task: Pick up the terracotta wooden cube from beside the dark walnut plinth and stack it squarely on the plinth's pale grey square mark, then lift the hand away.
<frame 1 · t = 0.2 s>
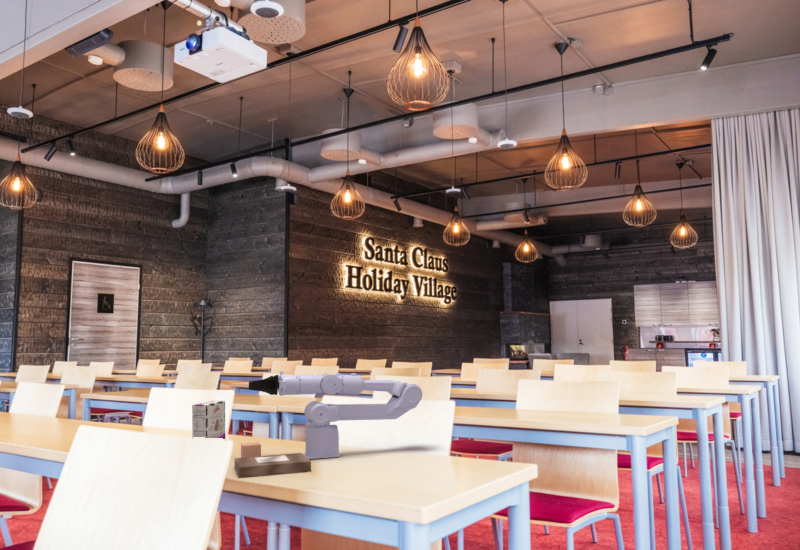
hand: (250, 385, 177), 21 cm above the table, tool horizontal, fingers open, 7 cm apart
candy bar box: (208, 460, 180), on the table
walnut plinth: (271, 469, 163), on the table
terracotta cube: (250, 462, 175), on the table
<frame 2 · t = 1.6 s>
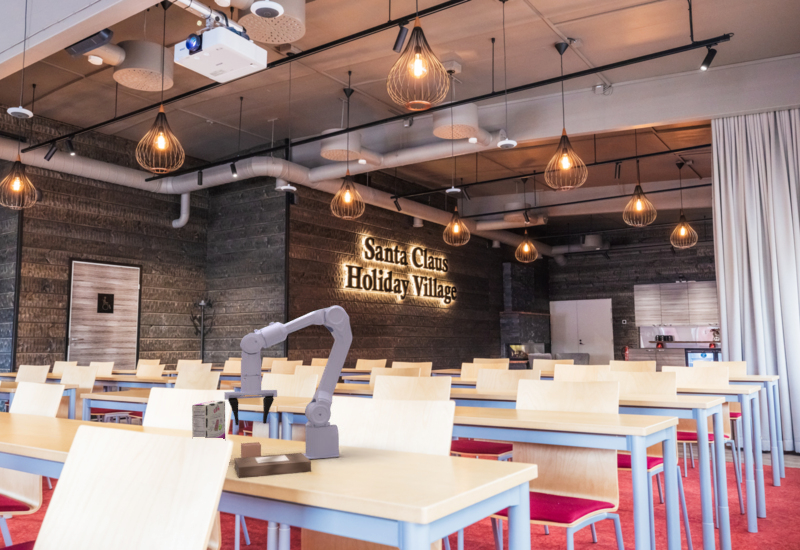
hand: (250, 424, 176), 10 cm above the table, tool pointing down, fingers open, 7 cm apart
nothing on the table moved.
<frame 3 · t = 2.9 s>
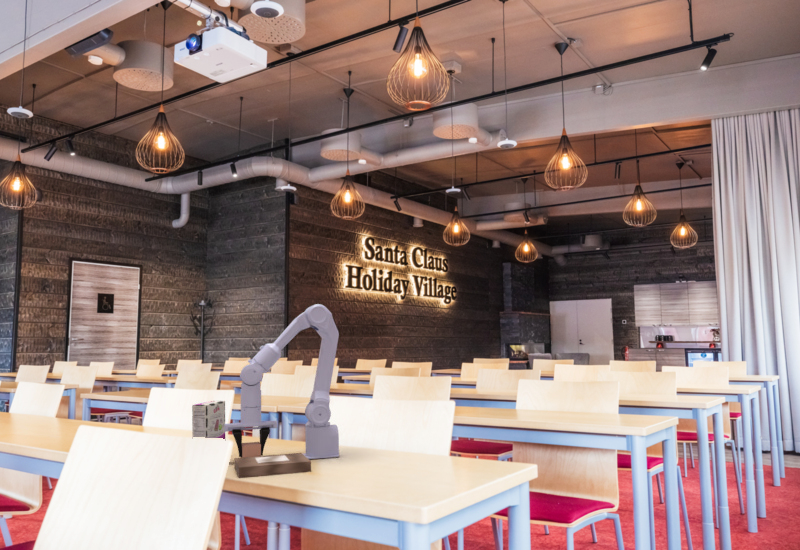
hand: (250, 455, 175), 2 cm above the table, tool pointing down, fingers closed on terracotta cube, 5 cm apart
terracotta cube: (250, 461, 175), on the table, touching gripper
everything else where it was.
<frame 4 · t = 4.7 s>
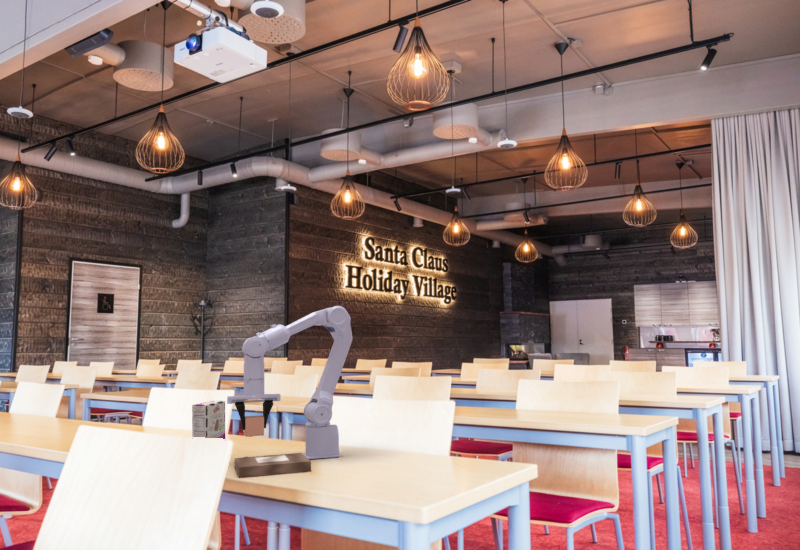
hand: (254, 428, 174), 9 cm above the table, tool pointing down, fingers closed on terracotta cube, 5 cm apart
terracotta cube: (253, 434, 174), point 8 cm above the table, touching gripper
everything else where it was.
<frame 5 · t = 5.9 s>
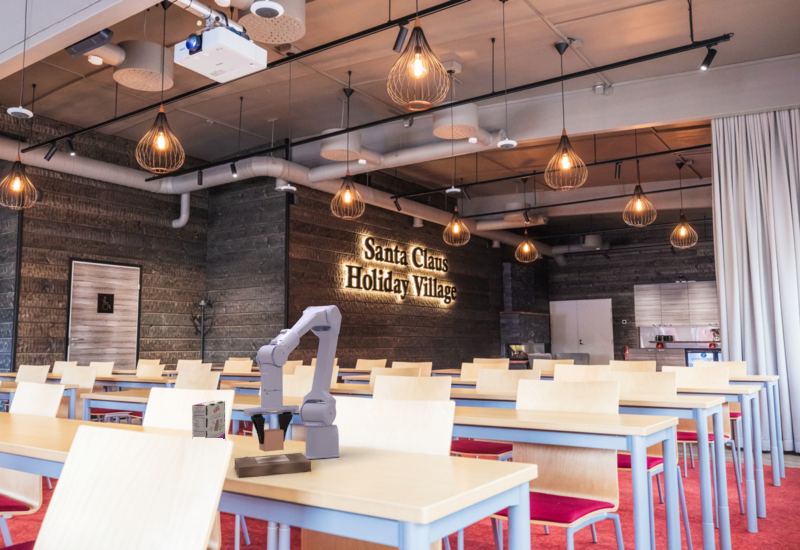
hand: (271, 442, 164), 7 cm above the table, tool pointing down, fingers closed on terracotta cube, 5 cm apart
terracotta cube: (271, 449, 164), point 5 cm above the table, touching gripper
everything else where it was.
when the fingers open (5 cm above the table, at t = 6.7 s): terracotta cube stays where it is, resting on walnut plinth.
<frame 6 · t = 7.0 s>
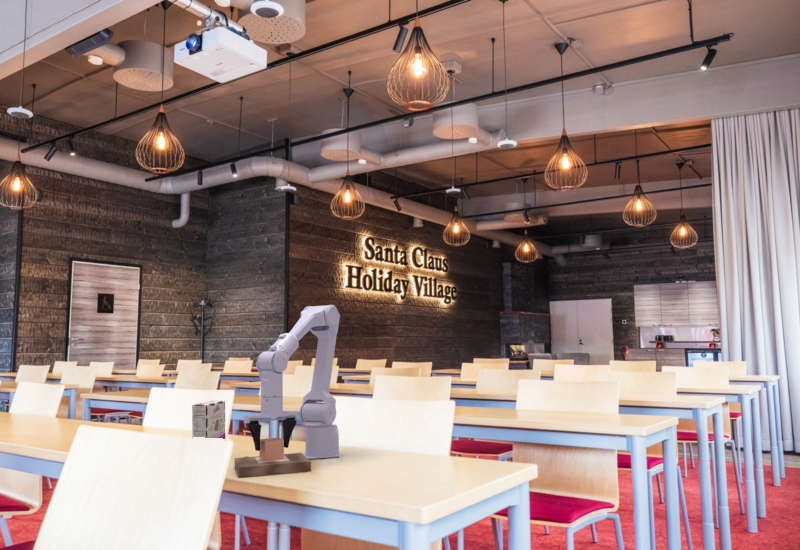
hand: (271, 448, 164), 5 cm above the table, tool pointing down, fingers open, 7 cm apart
terracotta cube: (271, 458, 164), point 3 cm above the table, touching walnut plinth
everything else where it was.
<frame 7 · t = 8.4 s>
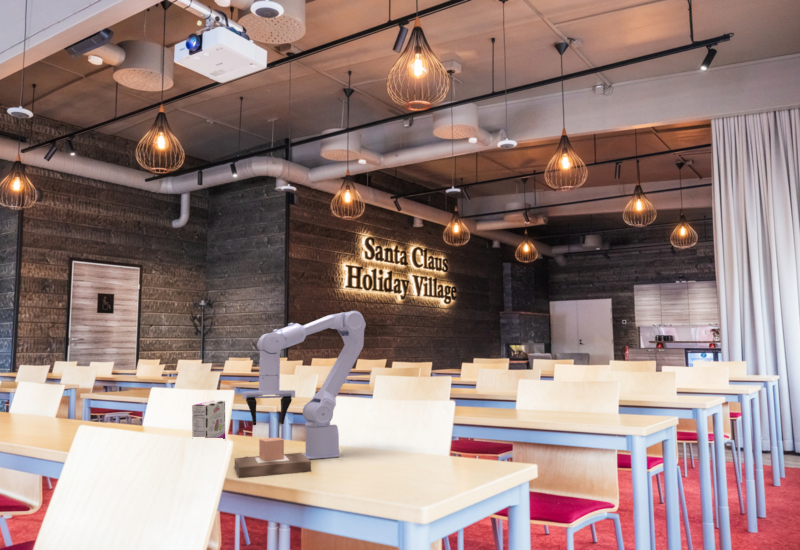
hand: (268, 424, 175), 10 cm above the table, tool pointing down, fingers open, 7 cm apart
nothing on the table moved.
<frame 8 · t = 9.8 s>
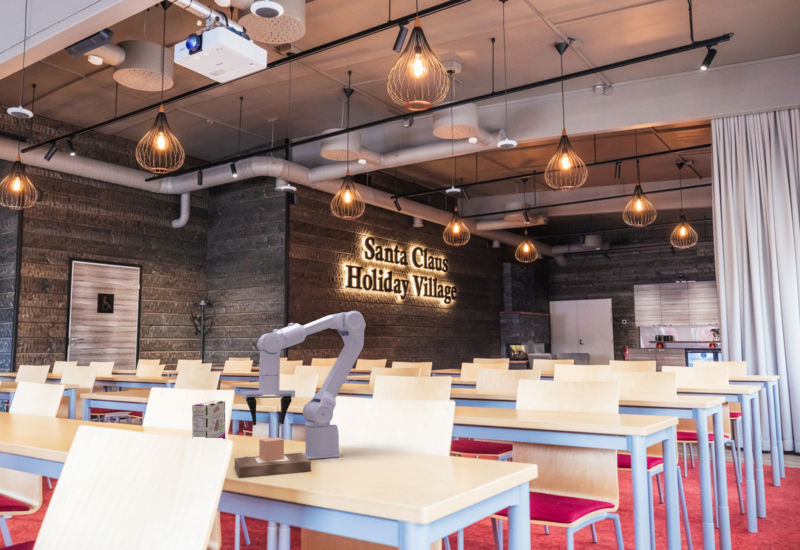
hand: (268, 424, 175), 10 cm above the table, tool pointing down, fingers open, 7 cm apart
nothing on the table moved.
at the end: terracotta cube inside the target area on the walnut plinth (0.3 cm from its centre), point 2.7 cm above the walnut plinth's base; terracotta cube tilted 0°; the gripper is holding nothing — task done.
